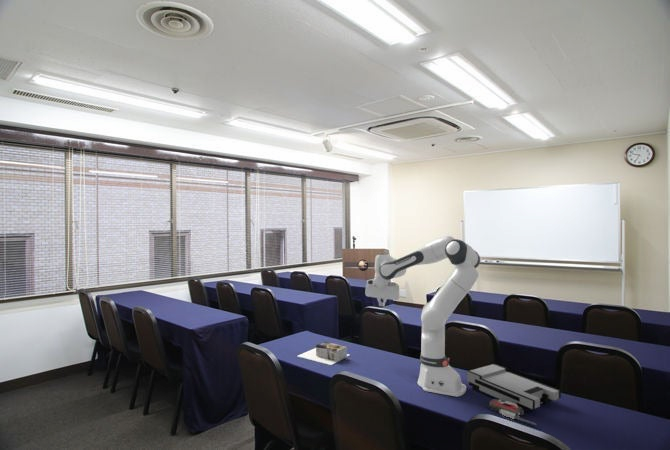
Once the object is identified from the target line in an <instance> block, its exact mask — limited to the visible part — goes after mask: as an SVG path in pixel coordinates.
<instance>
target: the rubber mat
mask: <svg viewBox="0 0 670 450" xmlns="http://www.w3.org/2000/svg"><path fill="white" fill-rule="evenodd" d="M349 356H351V354H349V353H347V357H349ZM296 357H297V358H300V359H303V360H304V359H306V360H309V361H313V362H315V363H316V362H317V363H321V364H324V365H328V366H333V365H335V364H336V363H338V362H341V361H342V360H340V361H338V362H337V361H334V360H330V359H327V358H323V357H320V356H316V347H315V348H314V347H313V349H310V350H308V351H305V352H303V353H301V354H298V355H297V356H296Z"/></svg>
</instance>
